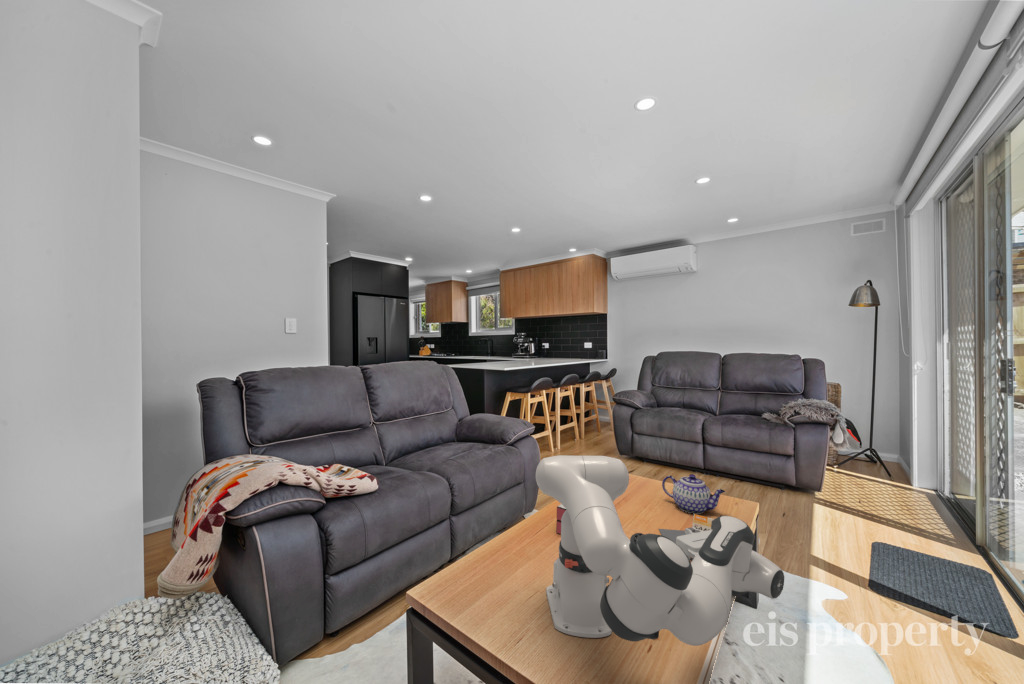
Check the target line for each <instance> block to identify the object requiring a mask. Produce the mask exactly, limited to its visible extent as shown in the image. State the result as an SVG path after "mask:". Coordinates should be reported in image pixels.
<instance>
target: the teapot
mask: <svg viewBox="0 0 1024 684" xmlns="http://www.w3.org/2000/svg"><path fill="white" fill-rule="evenodd" d="M668 479H671V481H672V484H673V487H672V493H670V492H669V491H668V490H667V488H666V487H665V486H666V485H665V484H666V482H667V480H668ZM661 483H662V484H661V486H662V490H663V491H664V493H665V494H666V495H667V496H669V498H671V499H673V501H674V502H675V504H676V505H677V507H678V508H679V509H680V510H681V511H683V512H684V511H685V513H687V512H688V514H691V513H693V514H692V515H694V514H696V515H701V513H702V514H703V513H705V512H707V511H713V510H715V509H716V508H717V507H718V505H719V500H720V497H721V495H722V494H723V493H725V492H726V490H724V489H722V488H718V489H716V491H715V492H714V493H713V494H712V491H711V489H710V488H709V487H708V486H707V484H706V482H705V481H704V480H703V479H701V478H697V476H696V475H695V474H693V473H692V474H689V475H688V476H682V477H680V478H679V479H678V480H676V478H675V477H674V476H672V475H667V476H665V477H664V478H663V480H662V482H661Z"/></svg>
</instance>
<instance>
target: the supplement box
mask: <svg viewBox="0 0 1024 684" xmlns="http://www.w3.org/2000/svg"><path fill="white" fill-rule="evenodd" d="M692 517H693V518H692V526H691V527H694V528H695V529H698V530H703V531H707V530H711V524H712V521H713V520H714V519H715V518H711V517H709V516H708V517H707V516H704V515H701V514H693V516H692ZM690 558H692V557H690ZM693 559H694V558H693Z"/></svg>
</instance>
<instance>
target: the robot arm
mask: <svg viewBox="0 0 1024 684" xmlns="http://www.w3.org/2000/svg"><path fill="white" fill-rule="evenodd" d="M535 481H536V484H537V487H538V488H539V490H540V491H541V492H542V494H544V495H546V496H549V497H551V498H553V499H555V500H556V501H557V502H559V504H560V505H561V504H562V505H563V506H564V507H565V508H566V509H567V510H566V511H565V512H564V514H563V516H562V519H561V535H560V540H559V545H558V558H557V559H556V560H555V561H554V562H553V573H552V580H553V581H552V584H551V585H548V586H547V587H546V588H545V594H546V598H547V602H548V606H549V610H550V614H551V619H552V623H553V627H554V629H556V630H557V631H559V632H561V633H564V634H565V635H569V636H575V637H580V638H589V639H590V638H591V639H592V638H593V639H594V638H595V639H597V638H599V639H600V638H604V637H608V636H610V635H612V633H613V634H614V635H616V636H618V637H619V638H621V639H623V640H626V641H629V642H640V641H643V640H653V641H654V640H657V639H659V637H660V631H661V630H668V631H669V632H670V633H671V634H672V635H673V636H674V637H675V638H676V639H678V640H679V641H681V642H682V643H683V644H686V645H689V646H694V647H697V646H702V645H705V644H707V643H708V642H711V641H712V640H714V638H716V637H717V636H718V635H719V634H720V633H721V632H722V631H723V630H724V628H725V626H726V625H727V622H728V621H729V618H730V614H731V609H732V599H733V598H732V597H739V596H741V595H746V594H747V593H750V592H752V593H756V594H760V595H763V596H765V597H767V598H770V599H777V598H778V597H780V595H781V594H782V592H783V590H784V587H785V586H784V585H785V574H784V571H783V569H781V568H780V566H779V565H777V564H775V562H773V561H771V560H770V559H769V558H767V557H766V556H764V555H762V554H761V553H759V552H757V551H755V550H753V546H754V544H755V543H754V542H755V538H756V535H755V534H754V532H753V530H752V529H751V527H750V526H749V525H748V523H747V522H745V521H744V520H742V519H740V518H737V517H735V516H729V515H720V516H717V517H715V518H713V519H714V520H713V521H712V524H711V530H707V531H703V530H698V529H695V528H694V527H692V526H691V527H687V528H684V531H685V533H686V534H687V535H682V536H677V538H676V543H675V542H673V541H672V540H670V539H669V538H667V537H665V536H662V535H661V534H655V533H645V534H644V533H641V532H636V533H634V534H632V535H631V536H630V538H629V537H628V536H627V535H626V533H625V531H624V529H623V526H622V523H621V520H620V516H619V514H618V512H617V509H616V506H615V504H614V501H616V499H618V498H619V497H621V496H623V494H624V493H625V492H626V491H627V489H628V487H629V484H630V483H629V482H630V475H629V471H628V467H627V466H626V464H625V463H624V462H623V460H621V459H620V458H616V457H612V456H611V457H610V456H606V455H564V454H563V455H562V454H561V455H560V454H559V455H554V456H553V455H552V456H549V457H543V458H542V459H540V461H539V463H538V464H537V466H536V471H535ZM687 555H688V556H690V557H692V558H694V559H693V560H689V558H688V556H687ZM608 576H609V577H608ZM610 578H611V580H610ZM607 584H608V585H607Z"/></svg>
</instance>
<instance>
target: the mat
mask: <svg viewBox="0 0 1024 684" xmlns="http://www.w3.org/2000/svg"><path fill="white" fill-rule="evenodd" d="M658 531H659V533H660V535H662V536H665V537H667V538H669V539H670V540H672V541H673V542H675V543H676V538H677V536H682V535H687V534H686V533H685V530H683V529H682V530H681V529H671V528H670V529H669V528H667V529H666V528H658ZM687 556H688V555H687ZM688 558H689V560H690V561H692V560H693V558H690V556H688Z"/></svg>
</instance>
